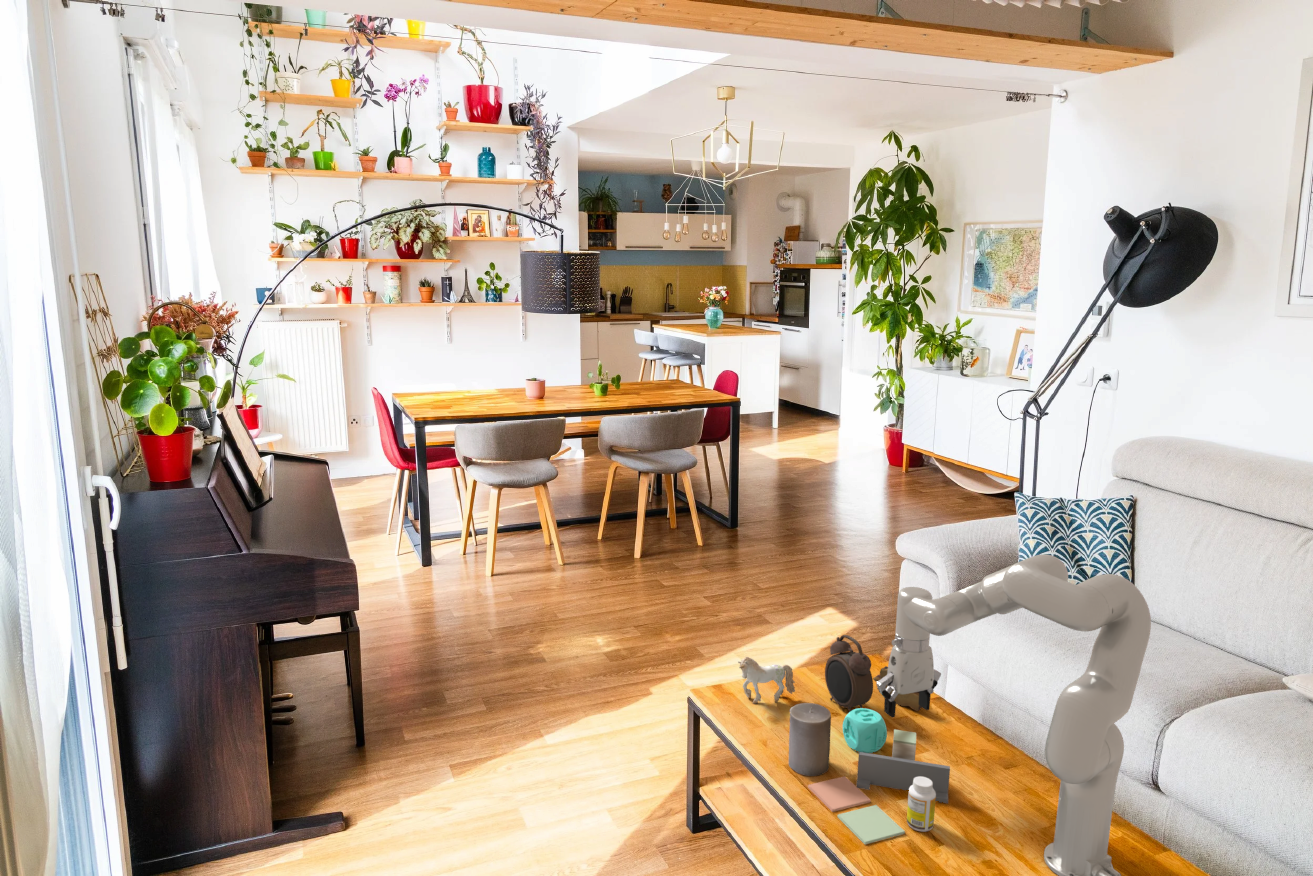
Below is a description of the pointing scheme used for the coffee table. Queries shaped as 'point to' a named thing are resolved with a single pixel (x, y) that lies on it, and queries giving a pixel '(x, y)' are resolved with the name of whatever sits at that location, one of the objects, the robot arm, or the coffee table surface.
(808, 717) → the pillar candle
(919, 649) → the robot arm
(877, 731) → the decorative dice
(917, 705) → the wooden carving
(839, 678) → the alarm clock
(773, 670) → the unicorn figurine
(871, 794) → the coffee table surface
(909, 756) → the marked post
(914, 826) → the supplement bottle
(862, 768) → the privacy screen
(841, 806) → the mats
